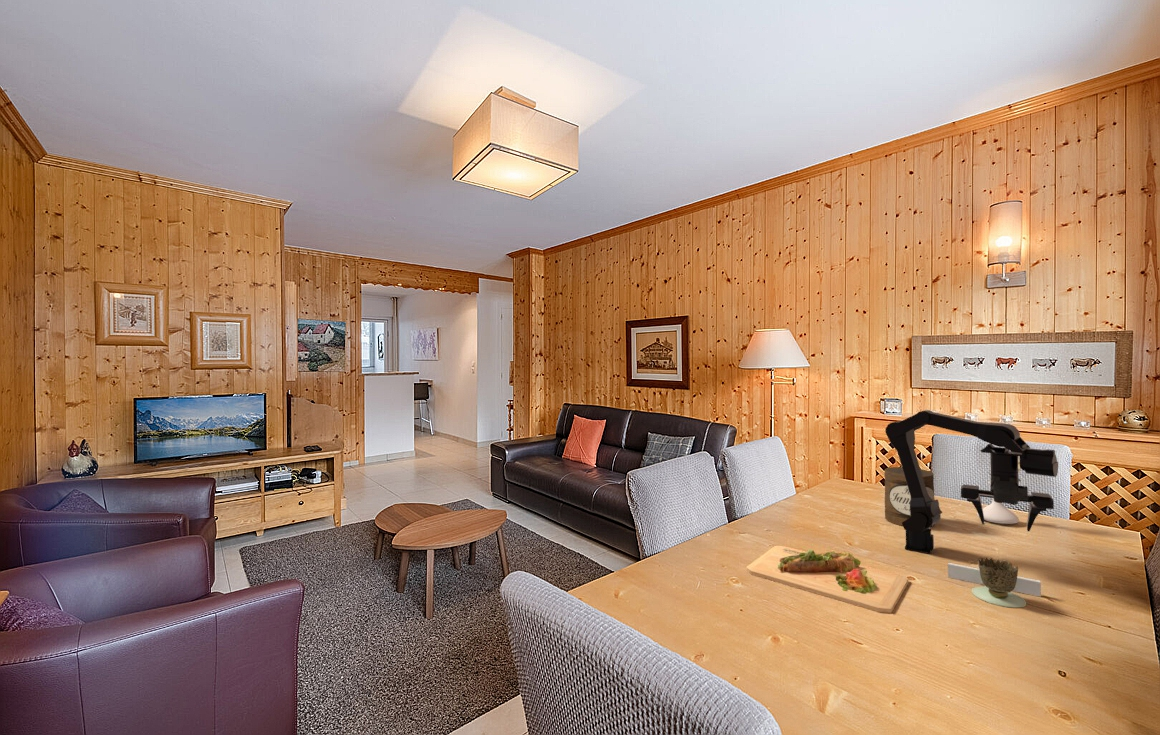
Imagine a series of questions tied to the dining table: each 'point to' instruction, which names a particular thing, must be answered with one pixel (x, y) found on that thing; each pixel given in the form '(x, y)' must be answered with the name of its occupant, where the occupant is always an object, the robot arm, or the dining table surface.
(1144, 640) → the dining table surface
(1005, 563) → the cup
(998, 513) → the flower in vase
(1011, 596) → the pad
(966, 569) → the acrylic wall
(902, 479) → the wooden container
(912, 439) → the robot arm
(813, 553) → the cutting board
